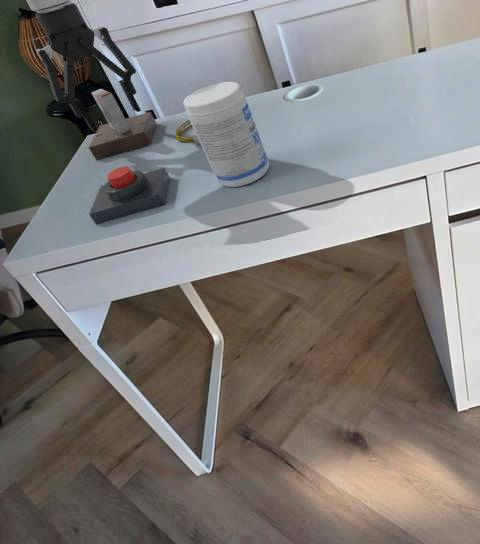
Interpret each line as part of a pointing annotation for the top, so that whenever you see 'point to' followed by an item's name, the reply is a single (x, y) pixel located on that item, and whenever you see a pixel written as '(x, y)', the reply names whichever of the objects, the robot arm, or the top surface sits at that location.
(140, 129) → the base
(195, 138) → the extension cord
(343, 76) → the top surface
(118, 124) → the tap lever
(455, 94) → the top surface
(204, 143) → the supplement tub
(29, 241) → the top surface
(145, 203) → the button block
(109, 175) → the red button
